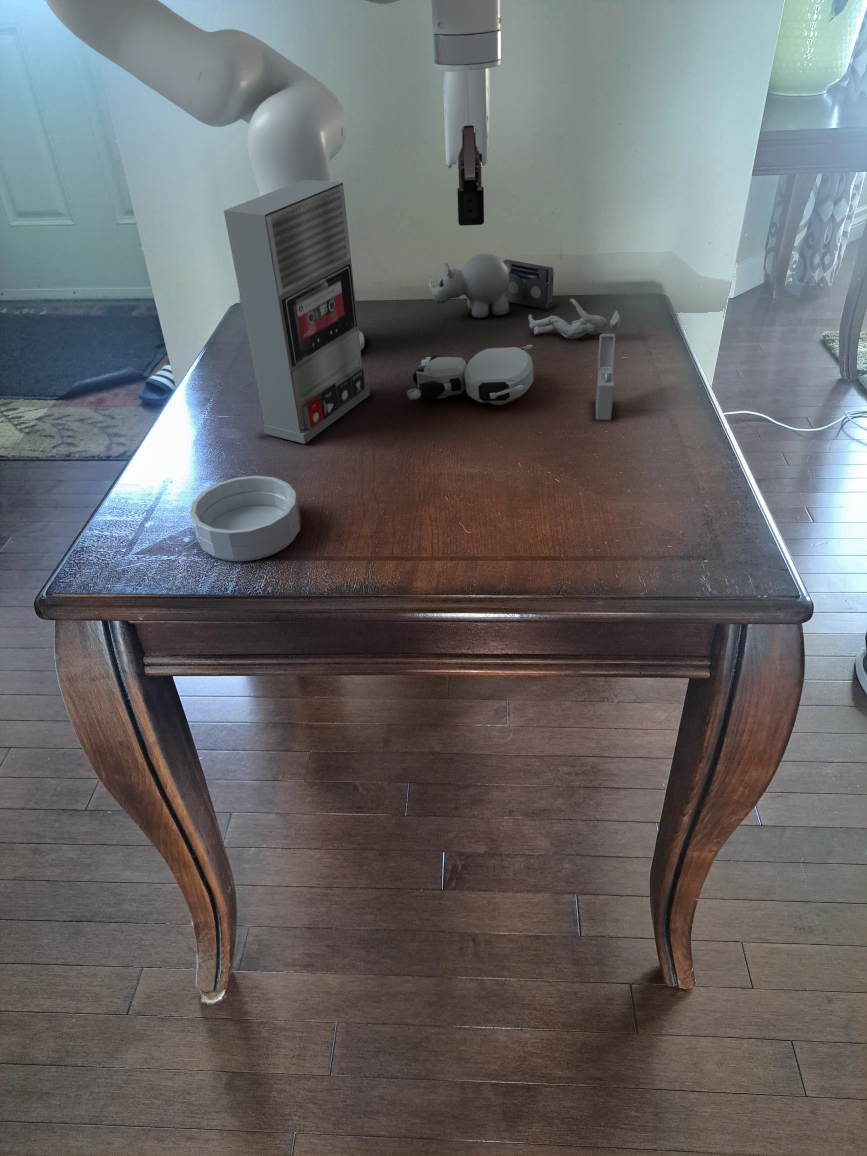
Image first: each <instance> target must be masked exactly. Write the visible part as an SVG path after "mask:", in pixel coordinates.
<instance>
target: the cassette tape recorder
mask: <svg viewBox="0 0 867 1156" xmlns="http://www.w3.org/2000/svg"><path fill="white" fill-rule="evenodd" d="M345 198H346V197H345V188H344V183H343V182H338V181H332V182H329V181H317V180H305V179H304V180H301V181H299V182H296V183H294V184H291V185H289V186H286V187H283V188H281V189H278V190H276V191H273V192H270V193H268V194H265V195H263V196H260V195H259V196H257V197H255V198H253V199H250V200H247V201H245V202H242V203H239V204H237V205H234V206H232V207H229V208H227V209H224V210H223V214H224V220H225V224H226V232H227V236H228V241H229V247H230V251H231V256H232V257H231V258H232V260H233V267H234V272H235V277H236V283H237V289H238V293H239V298H240V305H241V309H242V315H243V319H244V324H245V330H246V335H247V341H248V345H249V351H250V356H251V361H252V366H253V371H254V376H255V377H254V378H255V382H256V388H257V393H258V397H259V402H260V408H261V414H262V418H263V423H264V424H262V426H263V427H262V428H263V432H264V435H268V436H272V437H276V438H280V439H284V440H289V441H293V442H296V443H300V444H304V445H305V444H307V443H308V442H310V440H312V439H313V438H315V437H316V436H317V435H319V434H320V433H321V432H323V431H324V430H325V429H326V428H328V427H329V426H330V425H332V424H333V423H335V422H336V421H337V420H338V419H340V418H341V417H343V416H344V415H345V414H346V413H348V412H350V411H351V410H352V409H353V408H354V407H356V406H357V405H358V404H360V403H362V402H363V401H364V400H365V399H367V398H368V397H369V396H371V392H370V390H371V389H370V386H369V385H365V374H364V368H363V360H362V350H361V349H360V339H359V331H360V330H359V323H358V322H359V321H358V312H357V303H356V292H355V284H354V274H353V265H352V254H351V245H350V237H349V235H350V234H349V228H348V227H349V225H348V217H347V208H346V199H345Z"/></svg>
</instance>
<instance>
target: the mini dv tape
mask: <svg viewBox="0 0 867 1156" xmlns="http://www.w3.org/2000/svg"><path fill="white" fill-rule="evenodd" d="M502 261H503V262H504V264H505V265H506V266H507V267H508V269H509V271H510V273H509V284H508V288H507V290H506V292H505V296H506V298H507V301H508V303H513V304H517V305H522V306H526V307H530V308H536V309H541V310H545V311H546V310H548V309H551V308H552V307H553V302H554V301H553V300H554V299H553V298H554V274H555V273H554V272H555V271H554V267H553V266H545V265H540V264H534V263H528V262H524V261H519V260H513V259H507V258H506V259H504V260H502Z"/></svg>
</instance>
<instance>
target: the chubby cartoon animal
mask: <svg viewBox="0 0 867 1156" xmlns="http://www.w3.org/2000/svg"><path fill="white" fill-rule="evenodd" d="M503 261H504V260H502V259H501V258H500V257H499V256H497V255H494V254H492V253H488V252H487V253H484V252H483V253H478V254H475V255H474V256H472V257H471V258H469V259H468V260H467V261H466V262H465V264H464V266H463V267H462V269H457V268H451V267H450V264H448V263H447V262H444V267H445V269H444V271H443V272H442V273H441V274H440V276H439V281H438V282H437V281H435V284H434V283H433V279H432V278H430V280H429V283H428V288H429V290H430V292H431V298H432V300H433V301H434V302H435V303H437V304H445V303H446V302H448V301H449V300H450V299H458V298H460V297H461V296H465V297H466V298H467V300H466V301H467V308H468V309H469V310H471V316H472V317H473V318H477V319H482V318H483V319H484V318H486V317H488V316H489V314H490V309H491V313H492V314H493V315H494V316H505V315H506V314H508V313H509V312H510V305H509V304H510V303H509V302H508V301H507V298H506V296H505V292H506V290H507V288H508V284H509V273H510V271H509V269H508V267H507V266H506V265H505V264H504V262H503Z"/></svg>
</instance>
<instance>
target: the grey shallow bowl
mask: <svg viewBox="0 0 867 1156" xmlns="http://www.w3.org/2000/svg"><path fill="white" fill-rule="evenodd" d="M298 501H299V500H298V495H297V492H296V490H295V489H294V488H293V487H292V486H291V485H290V483H289V482H286V481H285V480H282V479H280V478H278V477H275V476H265V475H247V476H238V477H233V478H231V479H227V480H224V481H220V482H217V483H216V484H214V485H212V486H210V487H208V488H207V489H205V490H203V491H202V492H201V493H200V494H199V495H198V496H197V497H196V498H195V499H194V500H193V501H192V503H191V507H190V512H189V515H190V519H191V523H192V526H193V531H194V533H195V538H196V540H197V542H198V545H199V546H200V548H201V549H202V551H204V552H206V553H207V554H208V555H210V556H212V557H213V558H216V559H219V560H222V561H227V562H249V561H255V560H261V559H263V558H264V559H265V558H267V557H270V556H272V555H274V554H277V553H279V552H280V551H282V550H284V549H285V548H286V547H288V546H289V545H290V544H291V543H292V542H293V541H294V540H295V539H296V537H297V535H298V533H299V532H300V531H301V519H302V518H301V513H300V508H299V507H300V506H299V502H298Z"/></svg>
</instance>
